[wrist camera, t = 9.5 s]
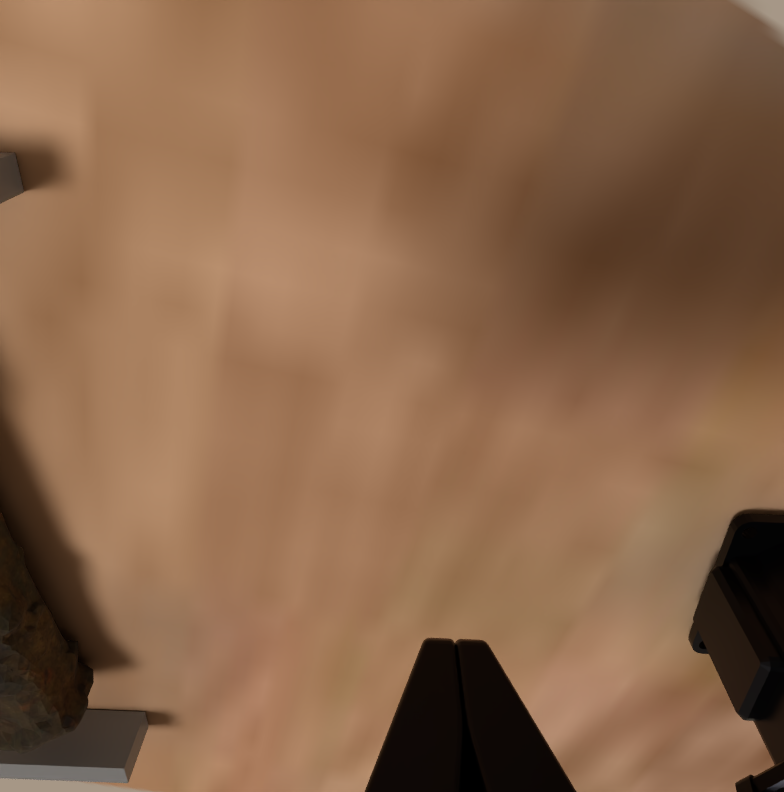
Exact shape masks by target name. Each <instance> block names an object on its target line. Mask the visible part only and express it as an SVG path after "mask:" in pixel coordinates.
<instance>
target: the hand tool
mask: <svg viewBox="0 0 784 792" xmlns="http://www.w3.org/2000/svg"><path fill="white" fill-rule="evenodd" d="M24 557H25V556H24V550H23V548H21V547H20V546H18V545H17V544H16V543H15V542H14V541H13V539H12V537H11V535H10V533H9V529H8V528H7V526H6V523H5V520H4V518H3V515H2V514H1V512H0V750H2V751H16V752H17V753H19V754H24V753H28V752H30V751H32V750H35V749H37V748H39V747H41V746H42V745H44V744H45V743H47V742H49V741H51V740H54V739H57V738H59V737H61V736H63V735H65V734H67V733H70V732H72V731H74V730H75V729H76V727H77V726H78V725H79V723H80V722H81V720H82V718H83V716H84V713H85V711H86V709H87V706H88V694H89V692H90V689H91V687H92V685H93V669H92V668H90V667H89V666H87V665H85V664H83V663H81V662H77V661H78V642H77V641H73V640H69V641H67V640H65V639H64V638H63V637H62V635H61V633H60V631H59V629H58V628H57V626H56V624H55V622H54V619H53V617H52V614H51V612H50V611H49V609H48V608H47V606H46V604H45V603H44V601H43V600H42V598H41V596H40V594H39V592H38V590H37V588H36V586H35V584H34V582H33V580H32V578H31V576H30V574H29V572H28V570H27V568H26V566H25V564H24Z"/></svg>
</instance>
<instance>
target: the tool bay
mask: <svg viewBox="0 0 784 792" xmlns="http://www.w3.org/2000/svg"><path fill="white" fill-rule="evenodd" d="M23 192H24V189H23V185H22V181H21V177H20V172H19V168H18V164H17V159H16V155H15V153H6V152H0V203H2V202H4V201H7V200H9V199H11V198H13V197H15V196H17V195H19V194H21V193H23ZM147 729H148V722H147V718H146V713H145V712H138V711H113V710H88V709H86V711H85V713H84V716H83V718H82V720H81V722H80V723H79V725H78V726H77V727H76V729H75V730H74V731H72V732H70V733H67V734H65V735H63V736H61V737H59V738H57V739H54V740H51V741H49V742H47V743H45V744H44V745H42V746H41V747H39V748H37V749H35V750H32V751H30V752H28V753H24V754H19V753H17V752H16V751H2V750H0V778H11V779H36V780H62V781H87V782H113V783H128V782H129V779H130V776H131V774H132V771H133V768H134V765H135V762H136V760H137V757H138V754H139V751H140V749H141V746H142V743H143V740H144V737H145V735H146V732H147Z"/></svg>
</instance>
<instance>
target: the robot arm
mask: <svg viewBox="0 0 784 792" xmlns="http://www.w3.org/2000/svg"><path fill="white" fill-rule="evenodd" d="M747 528H750V529H748V530H746V531H744V530H745V529H747ZM693 621H694V623H693V626H692V628H691V631H690V634H689V641H690V644H691V646H692V648H693V650H694V651H696V652H697V653H702V654H709V655H710V657H711V659H712V661H713V664H714V666H715V668H716V670H717V672H718V674H719V676H720V679H721V681H722V683H723V685H724V687H725V689H726V691H727V694H728V696H729V698H730V700H731V702H732V704H733V706H734V709H735V711H736V712H737V714H738V715H739V716H740V717H741V718H742V719H743V720H749V721H754V723H755V725H756V727H757V729H758V731H759V733H760V735H761V737H762V739H763V741H764V743H765V745H766V747H767V749H768V752H769V754H770V756H771V758H772V760H773V762H774V764H775V765H774V766H773V767H771V768H769V769H767V770H765V771H764V772H762V773H760V774H758V775H756V776H753V775H749V776H747V777H745V778H743V779H742V780H740V781H738V782H736V783H735V785H736V790H737V792H784V515H765V514H743V515H741V516H738V517H736V518H735V519H734V520H733V521H732V522H731V524H730V526H729V529H728V531H727V534H726V537H725V539H724V542H723V545H722V547H721V550H720V553H719V556H718V558H717V561H716V564H715V566H714V568H713V569H712V570H711V572H710V573H709V576H708V579H707V582H706V584H705V587H704V590H703V592H702V595H701V598H700V601H699V603H698V606H697V609H696V611H695V614H694V617H693ZM365 792H576V790H575V789H574V787H573V785H572V784H571V782H570V780H569V779H568V777H567V775H566V774H565V772H564V770H563V769H562V767H561V765H560V764H559V762H558V760H557V759H556V757H555V755H554V754H553V752H552V750H551V749H550V747H549V745H548V744H547V742H546V740H545V739H544V737H543V735H542V734H541V732H540V730H539V729H538V727H537V725H536V724H535V722H534V720H533V719H532V717H531V715H530V714H529V712H528V710H527V708H526V707H525V705H524V703H523V702H522V700H521V698H520V697H519V695H518V693H517V692H516V690H515V688H514V687H513V685H512V683H511V682H510V680H509V678H508V677H507V675H506V673H505V672H504V670H503V668H502V667H501V665H500V663H499V662H498V660H497V658H496V657H495V655H494V653H493V652H492V650H491V648H490V647H489V645H488V644H487V643H486V642H485V641H483V640H471V639H459V640H457V641H456V642H455V643H454V641H453V640H451V639H446V638H427V639H425V640H424V641H423V643H422V646H421V648H420V651H419V653H418V656H417V658H416V661H415V664H414V666H413V669H412V671H411V674H410V676H409V679H408V682H407V684H406V687H405V689H404V692H403V695H402V697H401V700H400V702H399V705H398V707H397V710H396V713H395V715H394V718H393V720H392V723H391V725H390V728H389V731H388V733H387V736H386V738H385V741H384V743H383V746H382V749H381V751H380V754H379V756H378V759H377V761H376V764H375V767H374V769H373V772H372V774H371V777H370V779H369V782H368V785H367V787H366V790H365Z"/></svg>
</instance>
